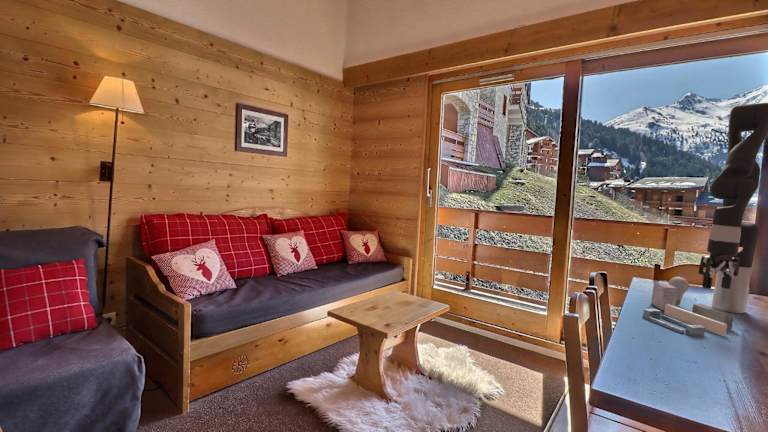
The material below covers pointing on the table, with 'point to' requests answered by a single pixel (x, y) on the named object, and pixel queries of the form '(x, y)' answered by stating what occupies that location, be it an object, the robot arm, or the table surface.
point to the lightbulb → (679, 287)
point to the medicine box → (663, 295)
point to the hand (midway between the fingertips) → (715, 288)
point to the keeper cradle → (690, 329)
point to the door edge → (696, 319)
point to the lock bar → (714, 314)
